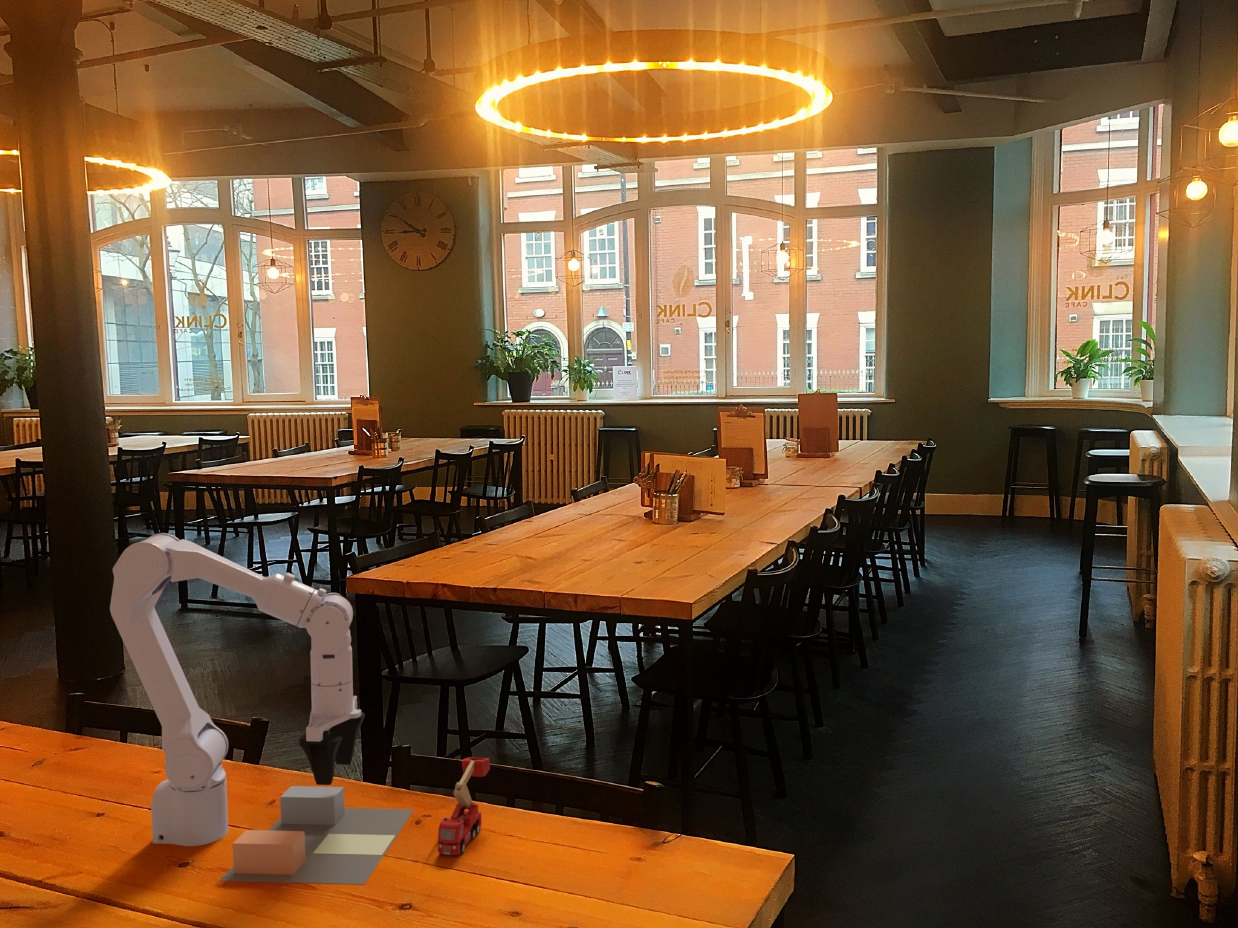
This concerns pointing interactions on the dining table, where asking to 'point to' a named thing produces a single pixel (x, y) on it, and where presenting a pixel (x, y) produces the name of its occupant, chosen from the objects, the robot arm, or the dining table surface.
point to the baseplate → (339, 848)
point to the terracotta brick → (269, 852)
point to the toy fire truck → (462, 811)
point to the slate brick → (312, 805)
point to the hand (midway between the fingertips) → (334, 773)
